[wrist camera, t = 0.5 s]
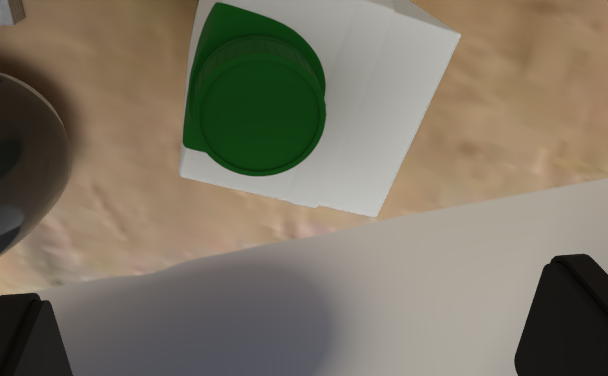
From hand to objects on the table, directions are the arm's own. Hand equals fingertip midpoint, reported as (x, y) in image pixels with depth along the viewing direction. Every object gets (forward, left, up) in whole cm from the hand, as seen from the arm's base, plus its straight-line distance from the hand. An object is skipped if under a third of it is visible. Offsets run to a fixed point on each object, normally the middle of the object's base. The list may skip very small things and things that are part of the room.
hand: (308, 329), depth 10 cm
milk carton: (-1, +2, -28) cm, 28 cm away
